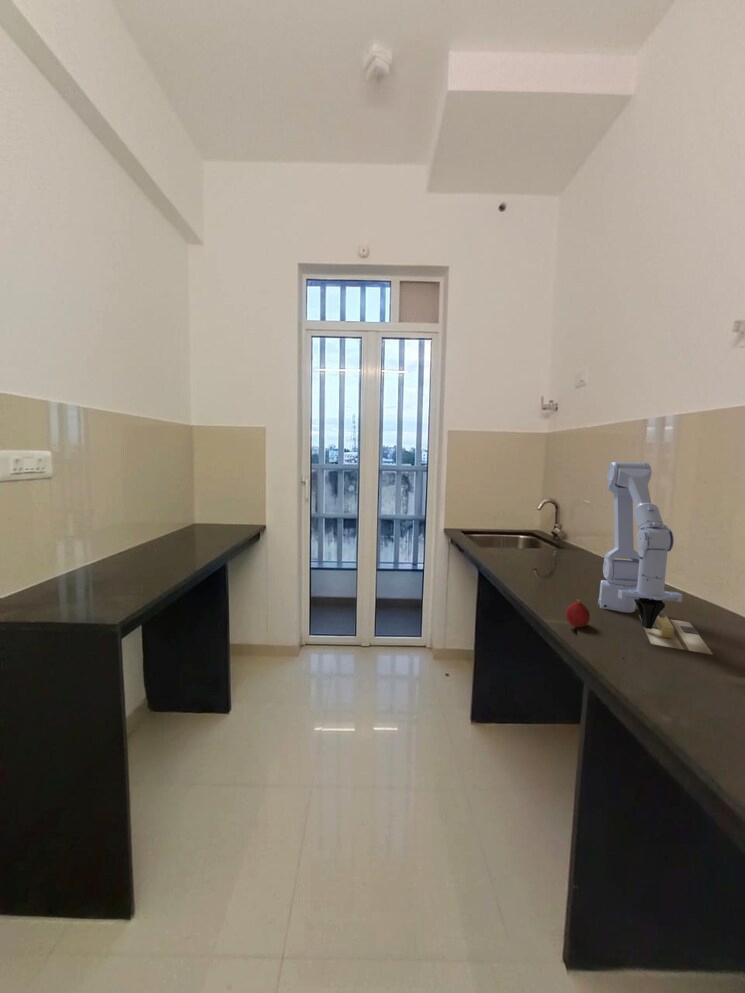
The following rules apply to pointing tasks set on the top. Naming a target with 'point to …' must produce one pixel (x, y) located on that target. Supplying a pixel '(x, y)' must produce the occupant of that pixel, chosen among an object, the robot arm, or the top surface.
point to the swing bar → (664, 625)
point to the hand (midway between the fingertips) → (646, 627)
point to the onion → (577, 614)
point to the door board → (679, 637)
